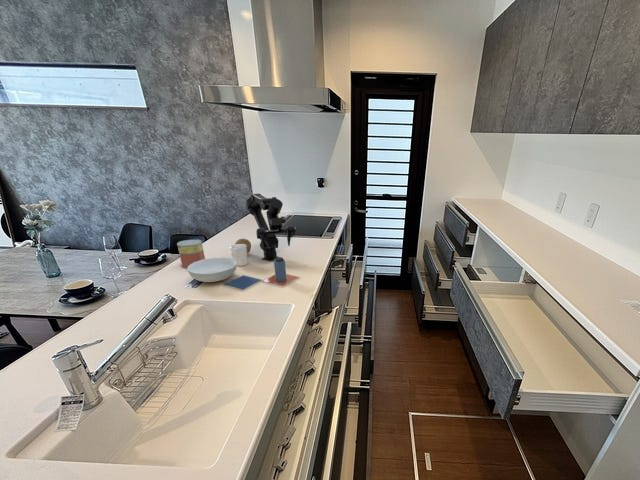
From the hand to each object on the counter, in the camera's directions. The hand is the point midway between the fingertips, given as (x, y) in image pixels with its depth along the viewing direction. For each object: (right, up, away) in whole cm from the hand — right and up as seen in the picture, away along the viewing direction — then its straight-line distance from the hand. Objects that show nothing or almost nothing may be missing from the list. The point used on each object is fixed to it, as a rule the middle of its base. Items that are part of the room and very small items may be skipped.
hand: (279, 247), depth 149 cm
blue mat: (-15, -18, -7) cm, 24 cm away
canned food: (-50, -8, +13) cm, 52 cm away
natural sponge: (-29, -2, +28) cm, 40 cm away
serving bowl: (-30, -15, -3) cm, 34 cm away
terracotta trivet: (+2, -16, -3) cm, 16 cm away
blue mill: (+2, -16, -4) cm, 17 cm away
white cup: (-26, -8, +15) cm, 31 cm away
